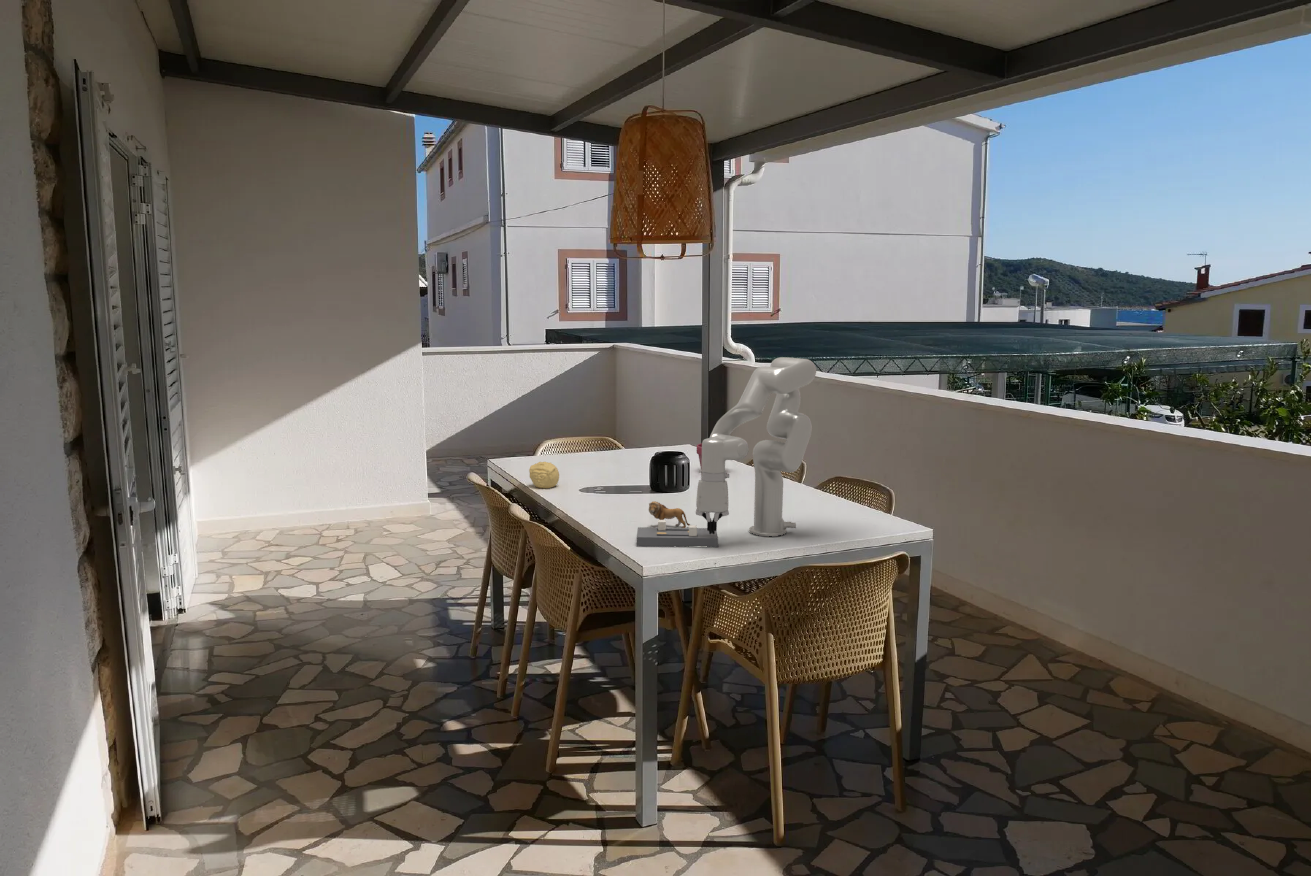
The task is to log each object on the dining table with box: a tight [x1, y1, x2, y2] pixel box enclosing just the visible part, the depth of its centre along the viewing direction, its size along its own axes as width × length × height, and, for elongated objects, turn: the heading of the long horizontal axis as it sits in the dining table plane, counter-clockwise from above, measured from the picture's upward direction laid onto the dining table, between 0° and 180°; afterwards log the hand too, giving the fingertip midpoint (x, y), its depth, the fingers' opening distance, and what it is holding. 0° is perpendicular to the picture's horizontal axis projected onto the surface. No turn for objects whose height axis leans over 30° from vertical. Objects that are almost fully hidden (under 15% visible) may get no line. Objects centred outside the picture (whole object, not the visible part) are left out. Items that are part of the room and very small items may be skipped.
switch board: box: [636, 526, 719, 548], centre depth 309 cm, size 26×13×3 cm, turn 89°
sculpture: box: [528, 461, 560, 489], centre depth 394 cm, size 12×12×11 cm
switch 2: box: [688, 524, 698, 536], centre depth 306 cm, size 2×3×4 cm
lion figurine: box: [648, 501, 691, 528], centre depth 329 cm, size 15×5×9 cm, turn 90°
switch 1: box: [657, 519, 667, 531], centre depth 313 cm, size 2×3×4 cm
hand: (711, 532), depth 305 cm, fingers closed
